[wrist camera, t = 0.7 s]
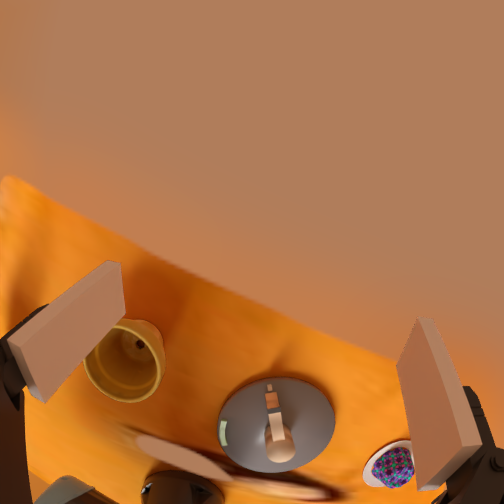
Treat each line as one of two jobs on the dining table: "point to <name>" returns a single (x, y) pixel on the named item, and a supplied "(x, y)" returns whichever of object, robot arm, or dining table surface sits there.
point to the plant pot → (127, 361)
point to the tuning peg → (277, 432)
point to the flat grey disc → (257, 420)
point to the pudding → (391, 466)
